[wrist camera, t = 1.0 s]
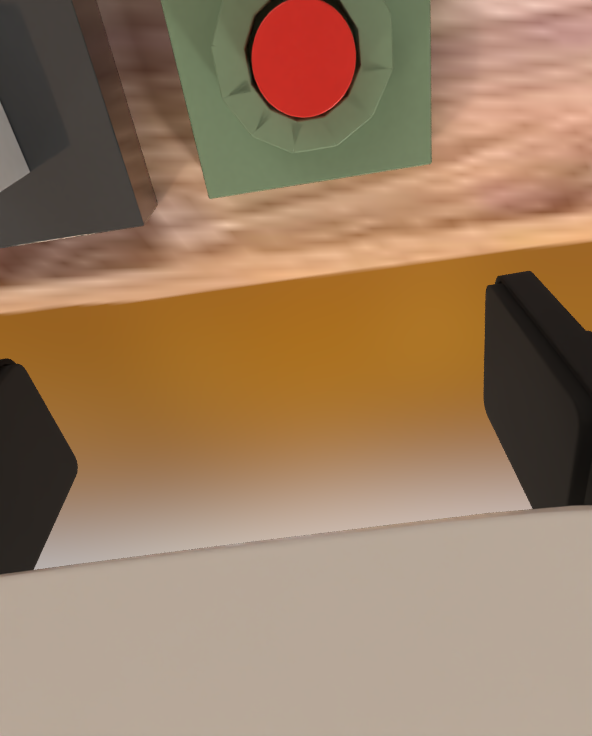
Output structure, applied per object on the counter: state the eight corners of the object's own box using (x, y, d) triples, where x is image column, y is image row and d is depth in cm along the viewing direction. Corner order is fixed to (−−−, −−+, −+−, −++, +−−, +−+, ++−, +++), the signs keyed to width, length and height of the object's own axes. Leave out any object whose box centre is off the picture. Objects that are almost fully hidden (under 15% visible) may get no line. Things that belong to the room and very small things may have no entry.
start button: (245, 7, 19) (241, 8, 17) (346, -12, 19) (350, -13, 17) (264, 117, 21) (262, 125, 19) (355, 101, 21) (360, 108, 19)
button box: (152, -79, 20) (125, -94, 17) (416, -132, 19) (442, -159, 16) (214, 185, 26) (203, 212, 23) (421, 152, 25) (441, 175, 22)
